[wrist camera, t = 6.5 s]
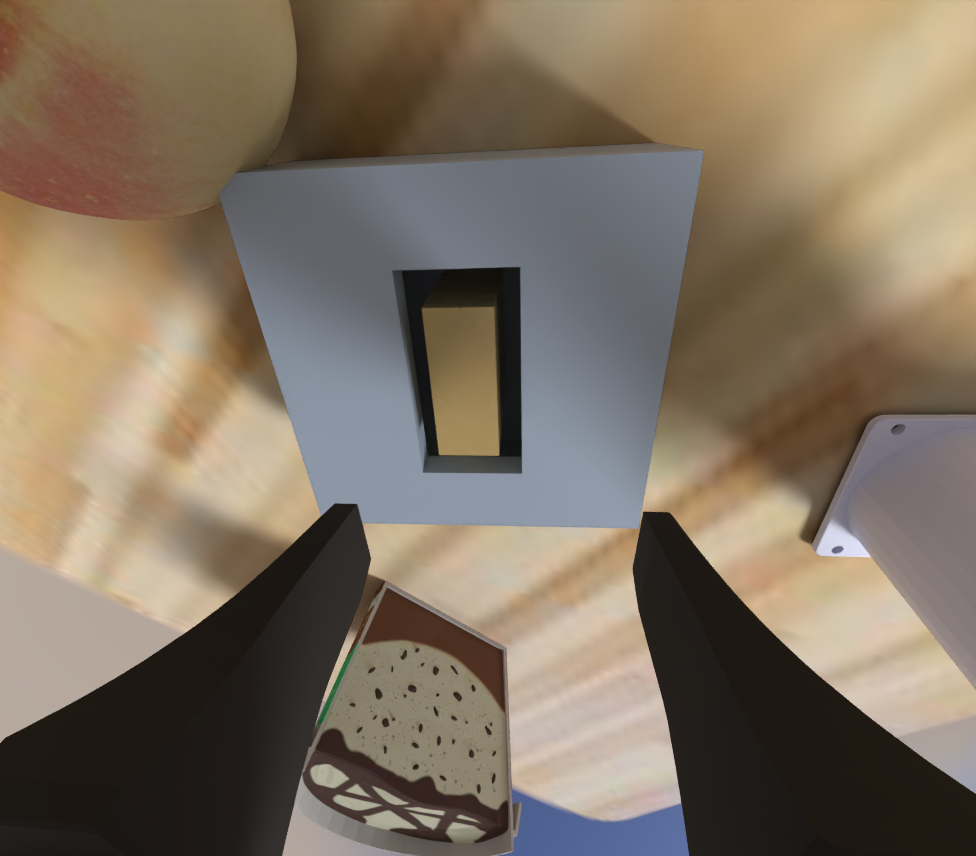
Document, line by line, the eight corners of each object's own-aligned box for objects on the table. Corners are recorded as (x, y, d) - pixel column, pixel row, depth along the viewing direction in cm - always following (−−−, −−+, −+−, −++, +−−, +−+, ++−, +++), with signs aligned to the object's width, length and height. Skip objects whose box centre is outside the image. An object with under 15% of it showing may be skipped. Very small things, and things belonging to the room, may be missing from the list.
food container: (315, 615, 30) (232, 804, 22) (363, 568, 27) (290, 765, 19) (466, 691, 34) (446, 878, 25) (523, 657, 31) (521, 855, 23)
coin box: (655, 142, 15) (704, 150, 11) (617, 449, 22) (638, 528, 17) (294, 160, 16) (211, 173, 12) (361, 448, 23) (323, 522, 18)
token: (502, 261, 17) (493, 306, 13) (505, 385, 20) (499, 455, 16) (447, 262, 17) (421, 308, 13) (458, 385, 20) (439, 455, 16)
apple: (81, 159, 16) (-229, 185, 10) (-6, -248, 12) (-744, -756, 5) (330, 225, 17) (201, 292, 10) (347, -135, 12) (125, -449, 5)
